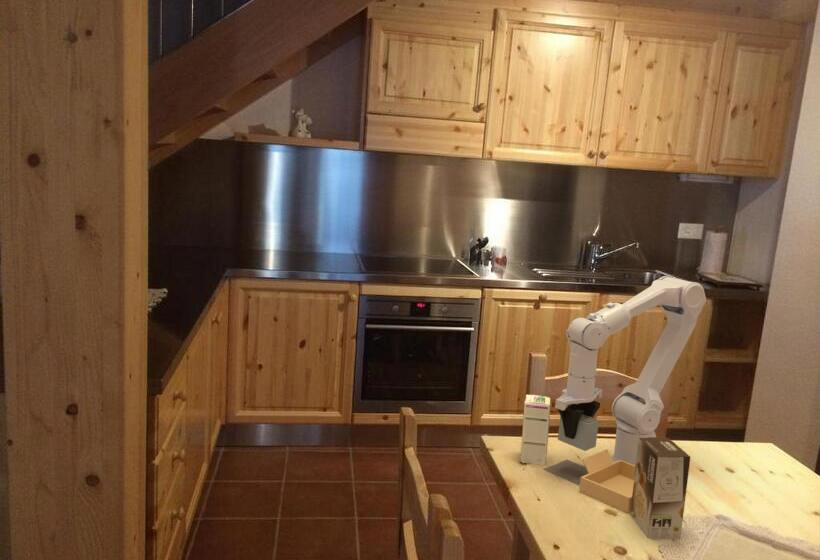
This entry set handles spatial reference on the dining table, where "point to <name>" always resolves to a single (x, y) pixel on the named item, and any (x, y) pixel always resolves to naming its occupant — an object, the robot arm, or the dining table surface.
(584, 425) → the block
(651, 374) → the robot arm
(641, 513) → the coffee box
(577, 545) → the dining table surface
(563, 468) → the mat
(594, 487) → the carton
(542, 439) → the syrup box
